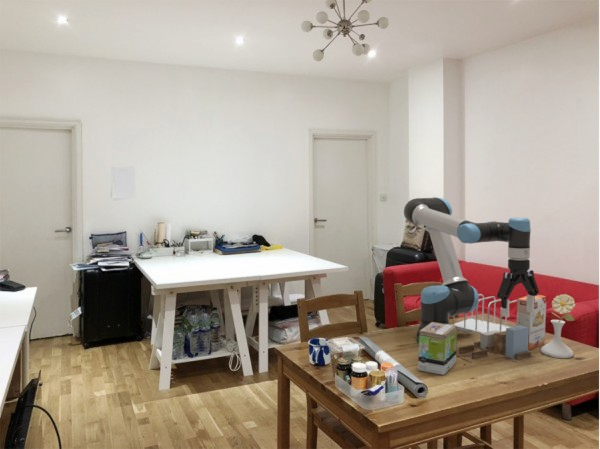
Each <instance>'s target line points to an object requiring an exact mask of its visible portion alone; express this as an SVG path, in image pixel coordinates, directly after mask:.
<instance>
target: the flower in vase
mask: <svg viewBox="0 0 600 449" xmlns="http://www.w3.org/2000/svg"><path fill="white" fill-rule="evenodd" d="M575 306H576V304H575V299H574V298H573V296H571V295H568V294H567V293H565V294H559V295H556V296H555V297H554V298H553V300H552V301H551V307H552V310H553V311H554V312H555V313H554V312H552V310H551V311H550V312H551V313H552V314H553V315H554V316H556V317H557V318H559V319H551V320H550V322H551V324H552V326H553V331H554V335H553V339H552V340H551V341H549V342H548V343H546V344H544V346H543V345H542V347H541V349H540V352H541V353H542V354H543V355H545V356H547V357H550V358H554V359H555V358H556V359H570V358H573V357H574V351H573V350H572V349H571V348H570V347H569V346H568V345H567V344H566V343H564V342H563V341H562V338H561V337H562V335H561V334H562V328H563V327H564V325H565V323H566V321H567V322H572V321H573V322H574V321H576V320H575V318H574V317H573V315H572V314H569V313H571V312H572V310H574V309H575ZM556 313H558V314H560V315H562V317H560V316H559V315H557V314H556ZM562 319H565V321H564V320H562Z"/></svg>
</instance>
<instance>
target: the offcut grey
mask: <svg viewBox="0 0 600 449" xmlns="http://www.w3.org/2000/svg"><path fill="white" fill-rule="evenodd" d="M497 332H501V331H498V330H495V331H490V332H484V333H480V340H479V341H480V348H482V349H486V346H490V345H494V333H497Z"/></svg>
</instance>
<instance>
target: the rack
mask: <svg viewBox="0 0 600 449" xmlns="http://www.w3.org/2000/svg"><path fill="white" fill-rule="evenodd" d="M473 345H474V349H478V350H483V349H482V348H480V340H479V341H478V340H477V341H474V343H473ZM486 350H488V353H489V354H491V355H495V356H498V357H499V358H502V359H505V360H508V361H512V362H514V363H516V362H520V361H524V360H528V359H532V358H536V357H537V356H535V355H534V354H532V351H530V350H528V351H527V352H523V353H519V354H516V359H512V358H509V357H506V349H504V350H503V354H499V353H496V352H494V345H490V346H486Z"/></svg>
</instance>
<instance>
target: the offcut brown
mask: <svg viewBox="0 0 600 449" xmlns="http://www.w3.org/2000/svg"><path fill="white" fill-rule="evenodd" d="M504 349H506V331H502V332H497V333H494V352H496V353H499V354H503V350H504Z"/></svg>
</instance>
